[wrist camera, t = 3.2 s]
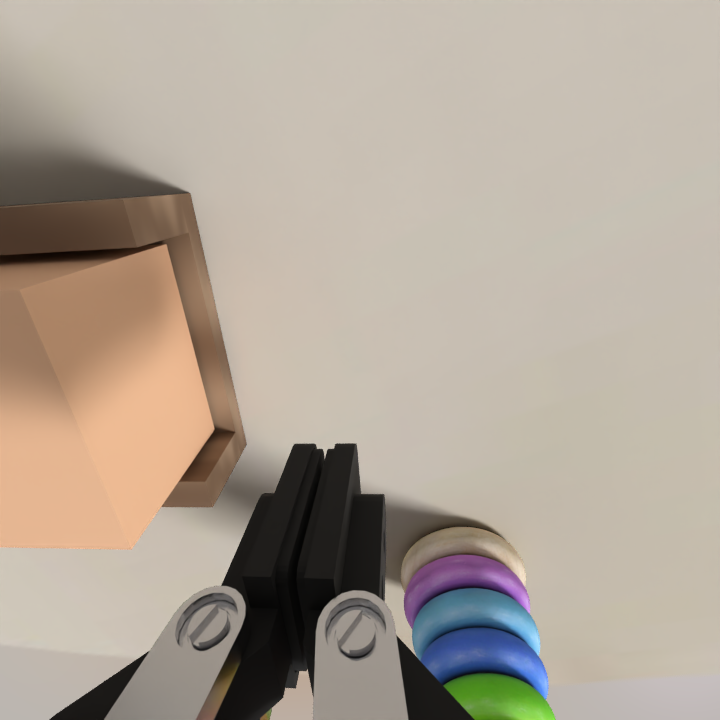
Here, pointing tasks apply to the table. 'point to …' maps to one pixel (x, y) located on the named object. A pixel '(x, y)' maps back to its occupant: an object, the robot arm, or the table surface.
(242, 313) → the table surface
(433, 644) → the stacking toy
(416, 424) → the table surface
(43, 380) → the block
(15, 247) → the chute
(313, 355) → the table surface
